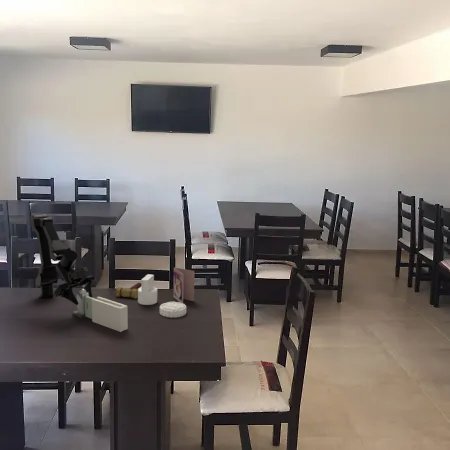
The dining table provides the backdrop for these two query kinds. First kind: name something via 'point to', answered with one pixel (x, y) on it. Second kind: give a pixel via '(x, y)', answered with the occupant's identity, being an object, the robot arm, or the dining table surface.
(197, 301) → the dining table surface
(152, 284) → the base with upright slab
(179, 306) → the mooncake
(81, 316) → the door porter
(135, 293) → the gavel
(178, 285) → the greeting card
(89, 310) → the door panel
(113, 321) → the white slotted block
